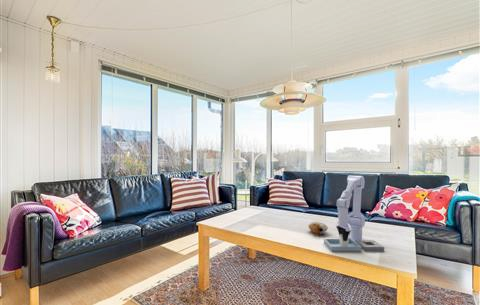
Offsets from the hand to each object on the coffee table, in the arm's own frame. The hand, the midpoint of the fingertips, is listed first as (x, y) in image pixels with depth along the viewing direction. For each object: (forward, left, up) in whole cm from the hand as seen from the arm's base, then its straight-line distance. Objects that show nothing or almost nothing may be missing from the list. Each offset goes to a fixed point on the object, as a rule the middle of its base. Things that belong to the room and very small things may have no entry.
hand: (343, 239), depth 151 cm
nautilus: (-28, -9, -5) cm, 29 cm away
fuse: (0, 0, -4) cm, 4 cm away
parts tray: (0, -1, -5) cm, 5 cm away
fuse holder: (0, +16, -5) cm, 17 cm away
